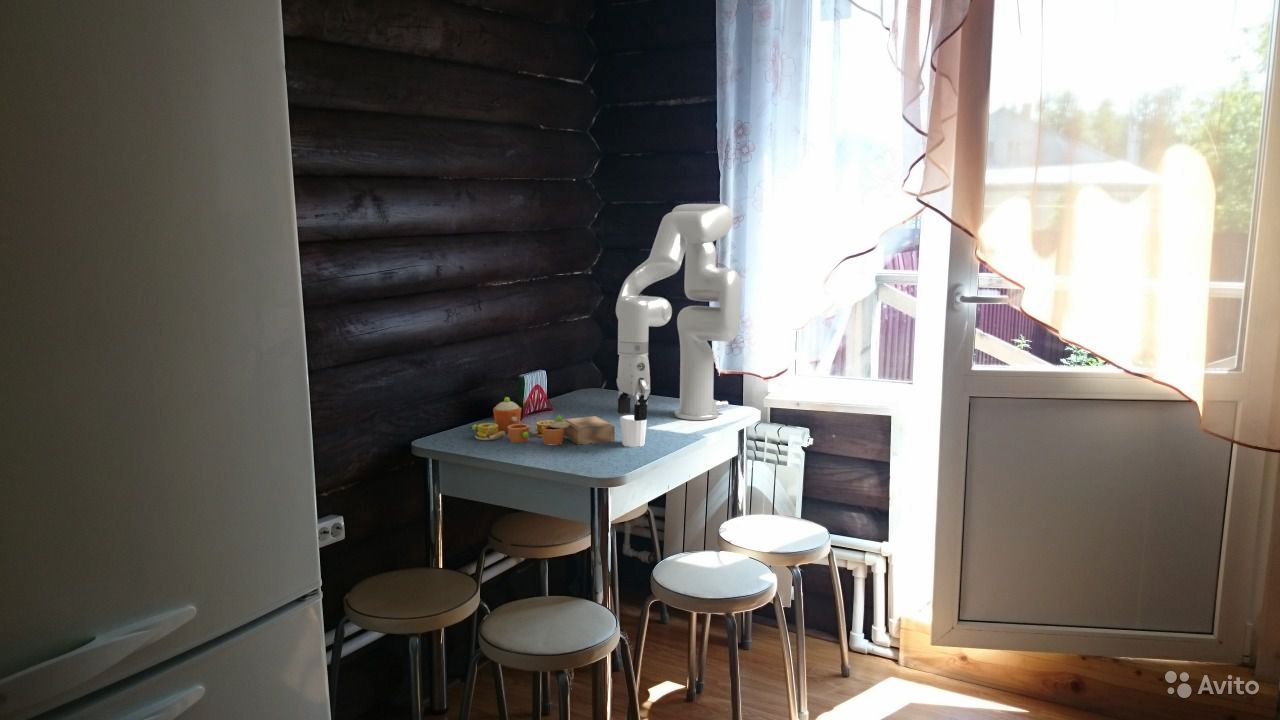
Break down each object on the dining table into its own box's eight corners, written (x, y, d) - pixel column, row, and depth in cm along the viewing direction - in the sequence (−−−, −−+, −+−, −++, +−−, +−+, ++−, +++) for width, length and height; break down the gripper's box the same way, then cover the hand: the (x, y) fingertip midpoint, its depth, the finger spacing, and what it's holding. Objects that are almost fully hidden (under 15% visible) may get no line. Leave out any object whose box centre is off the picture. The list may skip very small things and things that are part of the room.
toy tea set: (466, 441, 235) (465, 404, 234) (494, 427, 250) (493, 393, 248) (560, 449, 227) (559, 411, 225) (583, 435, 241) (583, 399, 240)
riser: (596, 431, 245) (596, 415, 244) (614, 440, 234) (614, 424, 233) (561, 434, 240) (561, 418, 240) (578, 445, 230) (577, 428, 229)
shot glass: (649, 441, 234) (649, 414, 232) (644, 448, 227) (644, 420, 226) (622, 440, 235) (622, 413, 234) (617, 447, 228) (617, 419, 227)
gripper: (662, 352, 221) (660, 422, 223) (632, 344, 236) (631, 409, 238) (633, 353, 217) (632, 424, 220) (605, 345, 233) (604, 411, 235)
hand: (632, 416), depth 229 cm, fingers open, 9 cm apart
